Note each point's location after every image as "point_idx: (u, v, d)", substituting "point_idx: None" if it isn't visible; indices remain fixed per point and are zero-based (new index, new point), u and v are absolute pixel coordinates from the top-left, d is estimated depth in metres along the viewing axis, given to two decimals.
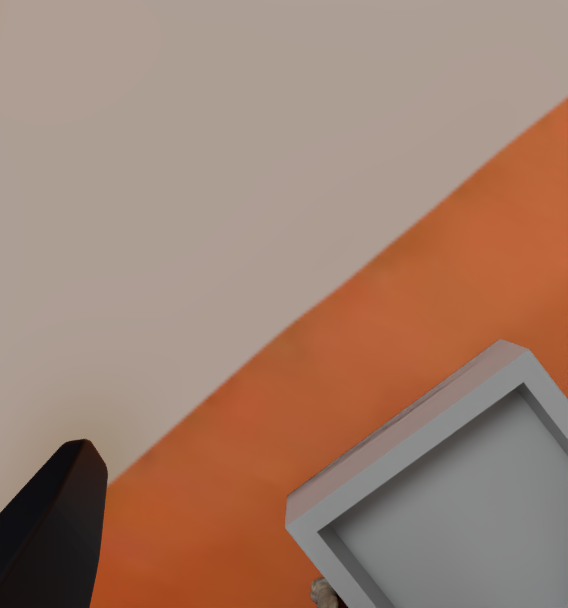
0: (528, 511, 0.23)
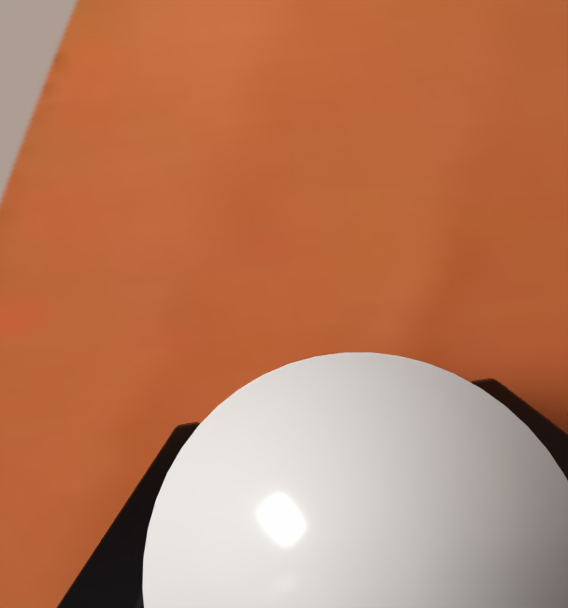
0: None
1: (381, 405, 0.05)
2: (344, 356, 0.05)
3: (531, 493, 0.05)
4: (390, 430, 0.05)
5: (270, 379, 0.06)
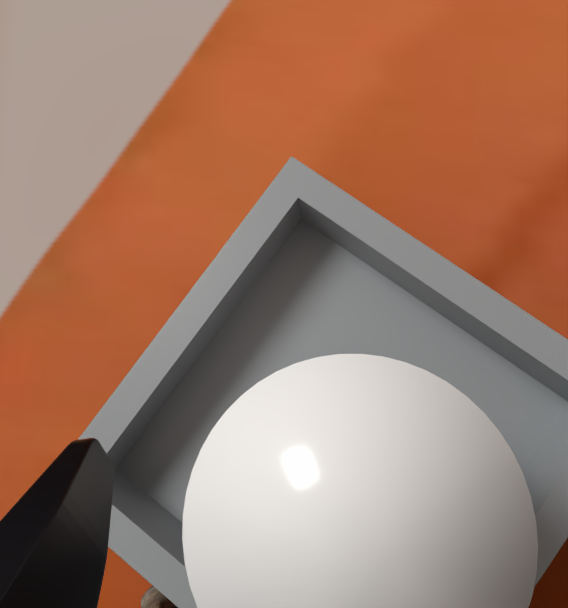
0: None
1: (369, 395, 0.07)
2: (340, 357, 0.07)
3: (485, 463, 0.07)
4: (376, 414, 0.07)
5: (282, 375, 0.07)
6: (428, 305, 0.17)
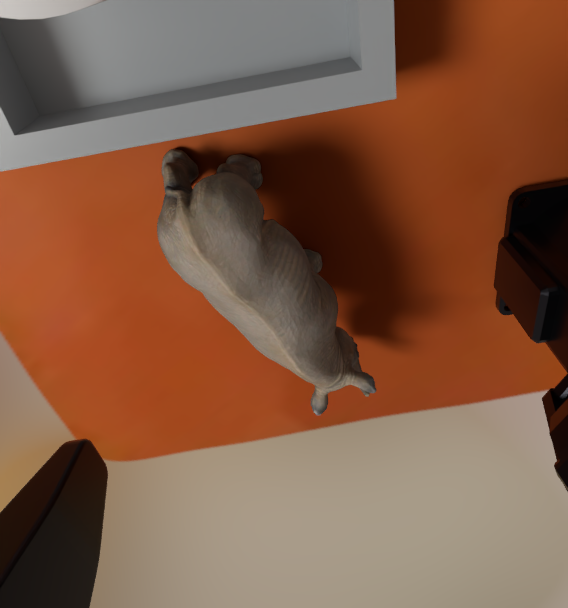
0: None
1: None
2: None
3: None
4: None
5: None
6: None
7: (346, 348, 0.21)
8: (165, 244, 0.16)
